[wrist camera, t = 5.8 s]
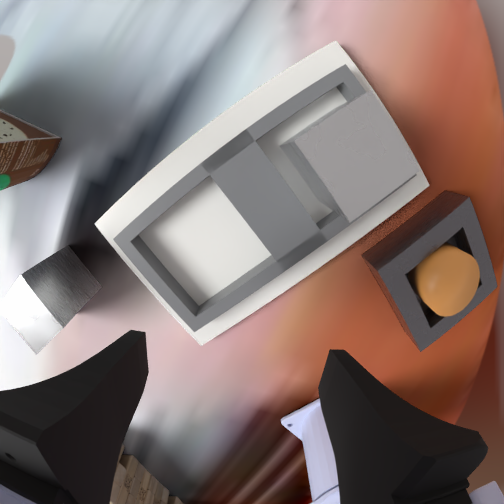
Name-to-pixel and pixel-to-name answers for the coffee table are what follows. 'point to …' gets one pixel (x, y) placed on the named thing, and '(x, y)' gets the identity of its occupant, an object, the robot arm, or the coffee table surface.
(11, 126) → the food container
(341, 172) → the seated billet
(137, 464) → the block tower
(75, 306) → the billet
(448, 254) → the button
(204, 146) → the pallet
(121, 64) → the coffee table surface
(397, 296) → the button housing
